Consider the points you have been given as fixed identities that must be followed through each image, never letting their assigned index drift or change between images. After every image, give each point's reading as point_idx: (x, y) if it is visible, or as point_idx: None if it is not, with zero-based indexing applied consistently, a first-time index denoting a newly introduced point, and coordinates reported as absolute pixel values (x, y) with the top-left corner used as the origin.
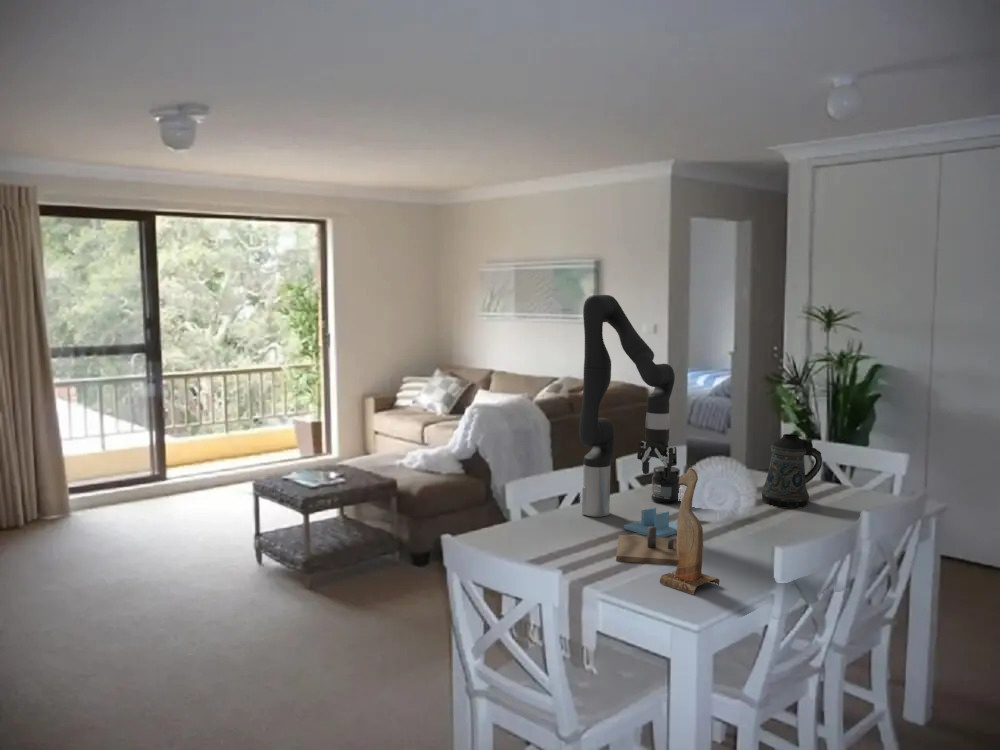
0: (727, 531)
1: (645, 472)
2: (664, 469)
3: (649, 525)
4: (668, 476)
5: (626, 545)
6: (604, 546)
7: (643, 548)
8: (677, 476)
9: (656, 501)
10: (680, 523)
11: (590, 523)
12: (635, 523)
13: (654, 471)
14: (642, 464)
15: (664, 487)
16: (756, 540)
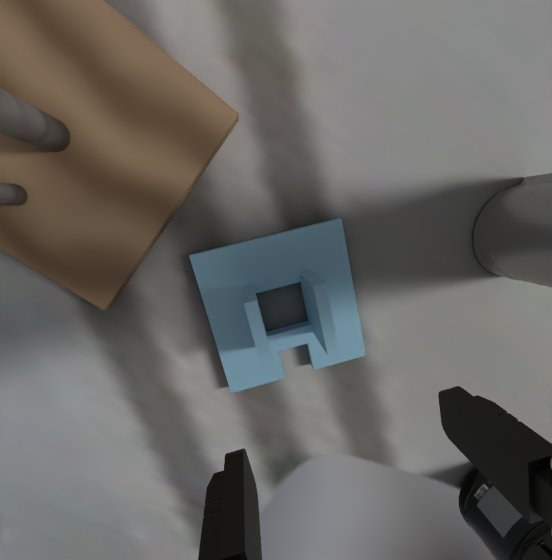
0: (174, 486)
1: (448, 404)
2: (235, 529)
3: (305, 301)
4: (212, 490)
5: (106, 50)
6: (190, 10)
7: (46, 91)
8: None
9: None
10: None
11: (440, 145)
12: (337, 265)
13: None
14: (544, 441)
15: (516, 518)
16: (66, 512)
